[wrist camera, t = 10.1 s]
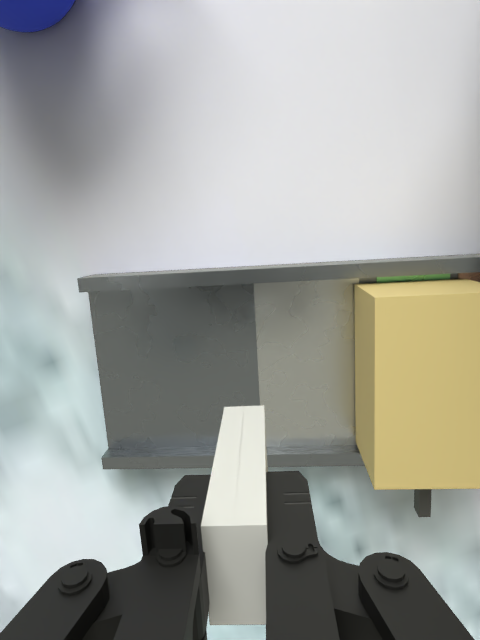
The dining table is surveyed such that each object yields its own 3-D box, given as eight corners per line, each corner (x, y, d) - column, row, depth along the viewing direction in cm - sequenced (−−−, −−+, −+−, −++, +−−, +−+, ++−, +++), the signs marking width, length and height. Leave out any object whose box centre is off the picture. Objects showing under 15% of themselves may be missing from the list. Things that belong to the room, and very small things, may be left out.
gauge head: (355, 481, 27) (374, 537, 22) (354, 284, 24) (375, 297, 20) (476, 480, 26) (523, 537, 21) (488, 277, 24) (543, 289, 19)
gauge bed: (115, 451, 29) (103, 469, 27) (92, 274, 27) (77, 278, 25) (535, 444, 27) (558, 462, 25) (551, 249, 25) (578, 251, 23)
